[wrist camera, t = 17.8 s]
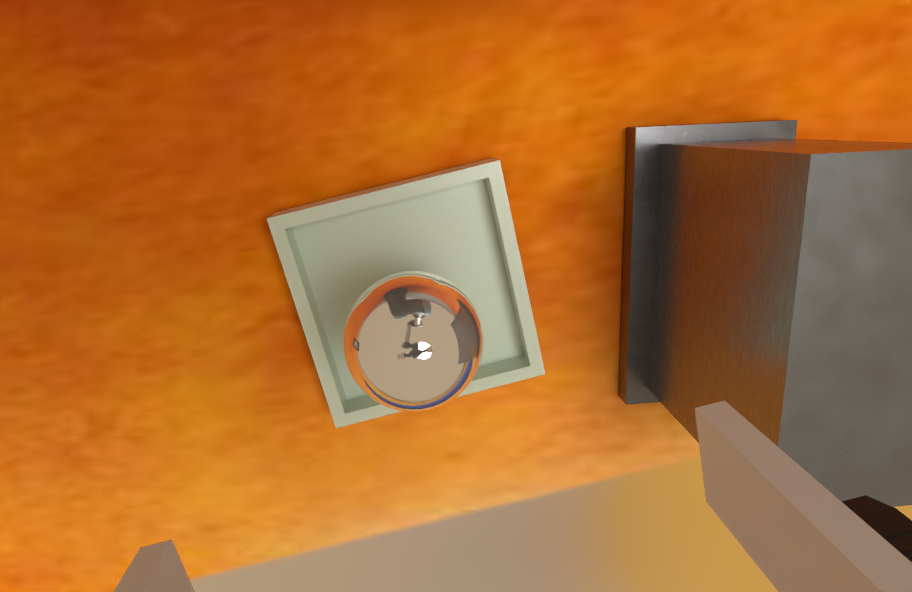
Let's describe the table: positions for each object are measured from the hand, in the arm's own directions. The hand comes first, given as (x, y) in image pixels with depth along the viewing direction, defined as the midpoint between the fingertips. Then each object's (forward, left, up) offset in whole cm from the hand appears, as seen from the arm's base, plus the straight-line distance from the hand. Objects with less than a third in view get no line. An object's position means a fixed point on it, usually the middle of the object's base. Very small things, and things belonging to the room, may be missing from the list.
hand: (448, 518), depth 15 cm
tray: (0, -1, -25) cm, 25 cm away
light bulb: (0, -1, -24) cm, 24 cm away
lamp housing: (+17, +7, -25) cm, 31 cm away
